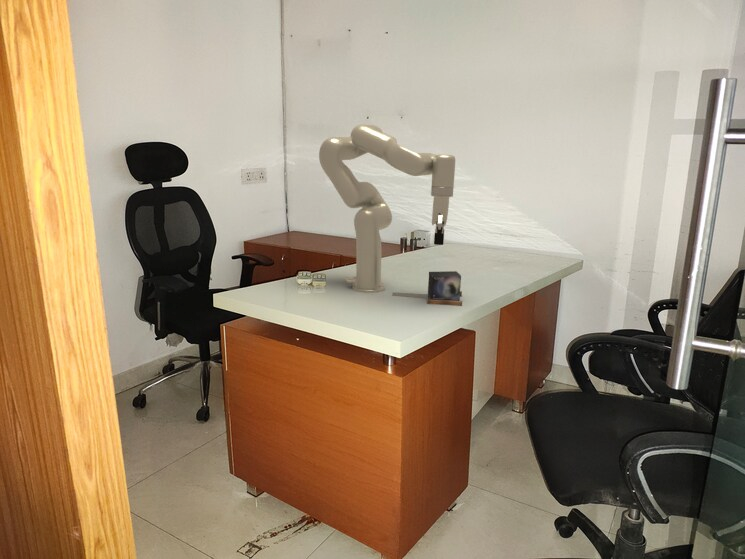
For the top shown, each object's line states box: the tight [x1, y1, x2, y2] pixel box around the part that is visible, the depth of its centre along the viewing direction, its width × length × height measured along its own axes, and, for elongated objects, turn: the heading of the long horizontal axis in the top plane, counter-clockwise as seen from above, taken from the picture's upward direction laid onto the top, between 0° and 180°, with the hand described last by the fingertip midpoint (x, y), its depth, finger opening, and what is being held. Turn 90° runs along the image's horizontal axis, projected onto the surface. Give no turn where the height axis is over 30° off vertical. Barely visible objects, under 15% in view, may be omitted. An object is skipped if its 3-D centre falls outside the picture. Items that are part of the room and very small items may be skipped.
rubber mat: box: [391, 292, 428, 300], centre depth 189 cm, size 13×11×1 cm
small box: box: [427, 270, 462, 301], centre depth 185 cm, size 11×6×10 cm, turn 97°
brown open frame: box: [426, 290, 463, 307], centre depth 187 cm, size 12×14×2 cm
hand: (438, 242), depth 182 cm, fingers open, 7 cm apart
